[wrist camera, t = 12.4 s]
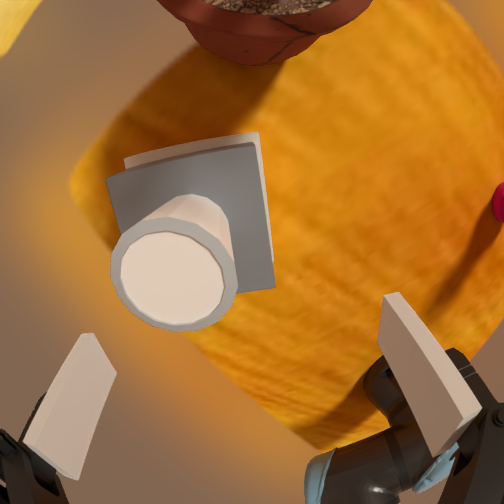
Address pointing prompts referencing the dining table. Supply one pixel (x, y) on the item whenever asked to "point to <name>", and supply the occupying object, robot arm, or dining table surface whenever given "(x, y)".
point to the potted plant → (262, 25)
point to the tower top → (214, 188)
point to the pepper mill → (499, 203)
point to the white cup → (177, 265)
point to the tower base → (203, 145)
